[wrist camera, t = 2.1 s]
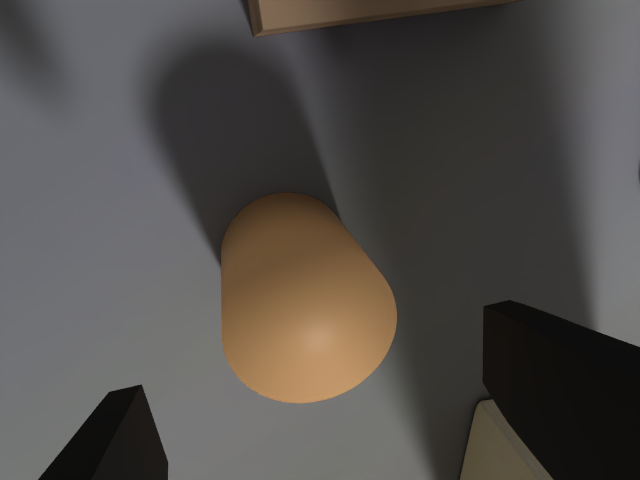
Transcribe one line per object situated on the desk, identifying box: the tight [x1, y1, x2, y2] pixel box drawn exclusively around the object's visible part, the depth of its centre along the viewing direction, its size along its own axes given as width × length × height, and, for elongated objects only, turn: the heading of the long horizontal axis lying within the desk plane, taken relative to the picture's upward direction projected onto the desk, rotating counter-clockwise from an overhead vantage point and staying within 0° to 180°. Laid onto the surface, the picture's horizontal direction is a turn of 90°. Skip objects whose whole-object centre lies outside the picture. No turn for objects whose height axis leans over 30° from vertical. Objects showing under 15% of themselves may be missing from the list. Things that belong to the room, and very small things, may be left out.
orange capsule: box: [221, 192, 397, 403], centre depth 14 cm, size 4×4×5 cm
